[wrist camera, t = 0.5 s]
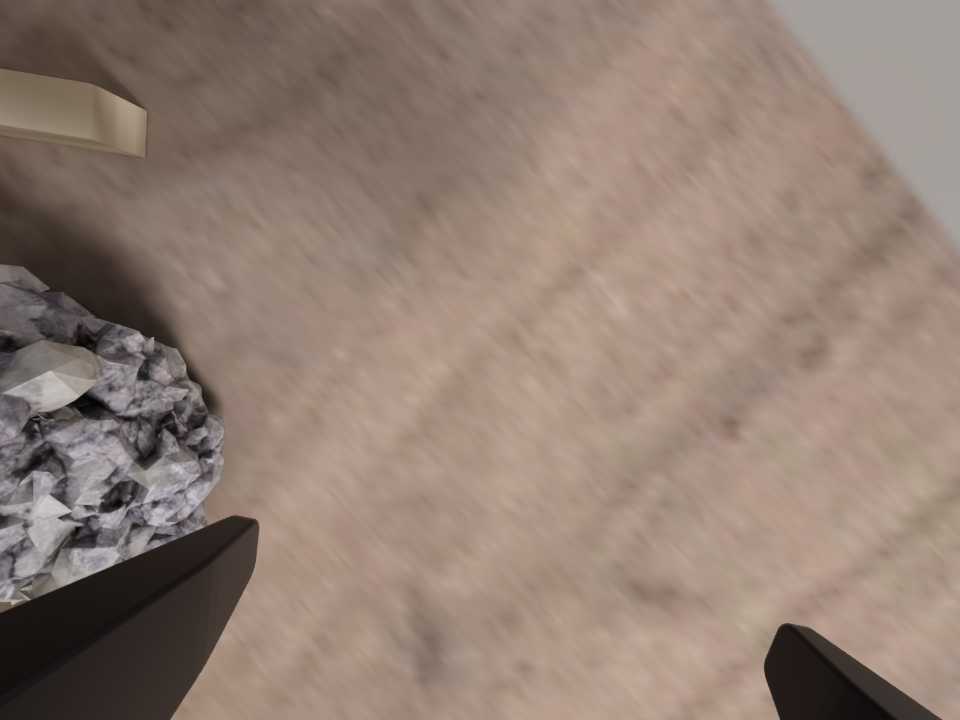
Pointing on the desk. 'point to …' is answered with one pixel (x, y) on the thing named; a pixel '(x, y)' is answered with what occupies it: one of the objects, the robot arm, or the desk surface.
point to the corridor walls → (69, 121)
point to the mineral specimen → (91, 441)
